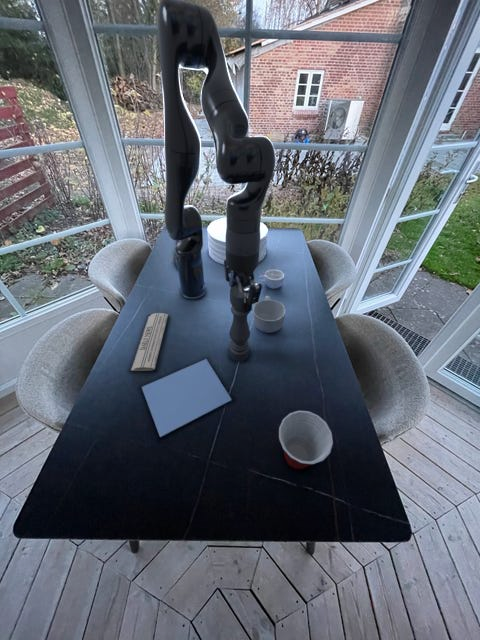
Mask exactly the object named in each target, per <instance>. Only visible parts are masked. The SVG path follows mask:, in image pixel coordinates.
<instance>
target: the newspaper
mask: <svg viewBox="0 0 480 640" xmlns="http://www.w3.org/2000/svg"><path fill="white" fill-rule="evenodd" d="M168 319H169V314H168V313H164V312H154V313H151V314H150V315H149V316H148V318H147V320H146V324H145V326H144V329H143V332H142V336H141V339H140V341H139V345H138V348H137V350H136V354H135V357H134V360H133V363H132V366H131V369H130V371H131V372H132V371H135V372H136V371H137V372H151V371H152V372H153V371H155V370H156V366H157V362H158V358H159V354H160V350H161V346H162V343H163V339H164V334H165V330H166V327H167V322H168Z"/></svg>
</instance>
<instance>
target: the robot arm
mask: <svg viewBox="0 0 480 640" xmlns="http://www.w3.org/2000/svg"><path fill="white" fill-rule="evenodd" d="M157 8H158V9H157V18H156V19H157V21H156V22H157V25H156V26H157V41H158V54H159V66H160V77H161V89H162V100H163V140H164V141H163V144H164V145H163V147H164V149H163V150H164V164H165V165H164V167H165V200H164V201H165V202H164V216H163V217H164V226H165V230H166V233H167V235H168V236H169V238H170V239H171V240H173V241H176V245H175V246H174V253H173V262H174V266H175V267H176V269H177V272H178V279H179V284H180V293H181V297H183V298H185V299H187V300H198V299H201V298H202V297H203V296H205V294H206V287H205V286H206V282H205V274H204V262H203V253H202V251H203V247H204V230H203V229H204V228H203V219H202V216H201V214H200V211H199V209H197V207H195V206H194V205H190V204H188V205H186V200H187V197H188V195H189V193H190V191H191V189H192V187H193V185H194V184H195V181H196V179H197V176H198V174H199V171H200V168H201V155H202V154H201V153H202V141H201V140H202V139H201V135H200V133H199V130H198V127H197V126H196V123H195V121H194V119H193V117H192V115H191V113H190V111H189V109H188V107H187V104H186V102H185V99H184V96H183V92H182V87H181V81H180V69H186V70H193V71H203V72H204V73H205V74H206V76H205V78H204V81H203V83H202V87H201V91H200V106H201V111H202V114H203V116H204V119H205V121H206V123H207V126H208V128H209V131H210V133H211V135H212V140H213V146H214V154H215V155H214V157H215V158H214V159H215V167H216V168H215V169H216V172H217V174H218V175H217V176H218V177H219V178H220V179H221V180H222V181H223V182H224V183H225V184H226V185H231V186H233V185H242V184H245V186H244V188H243V189H242V190H240V191H239V192H236V193H234V194H232V195H230V196H229V197H228V198H227V199H226V204H225V205H226V206H225V211H226V212H225V215H226V216H225V217H226V225H227V226H226V260H224V265H223V267H224V276H225V281H226V282H227V283H228V286H229V287H230V289H231V288H232V287H233V286H235V285H239V290H240V293H241V294H242V296H243V312H244V313H247V312H251V311H253V305H255V304H256V303H258V302H259V301H260V297H261V292H262V288H263V284H262V283H261V282H258V283H257V282H256V280H255V274H254V273H255V271H256V269H257V267H259V263H260V262H259V250H260V222H262V208H263V205H264V203H265V199H266V196H267V192H268V190H269V187H270V184H271V181H272V179H273V176H274V173H275V168H276V150H275V146H274V144H273V142H272V141H271V140H270V138H268V137H267V136H265V135H250V136H247V135H248V133H249V129H250V121H249V117H248V115H247V112H246V110H245V108H244V105H243V103H242V102H241V99H240V98H239V95H238V93H237V91H236V88H235V87H234V84H233V82H232V78H231V74H230V72H229V67H228V63H227V58H226V55H225V52H224V48H223V44H222V40H221V36H220V32H219V29H218V26H217V23H216V20H215V18H214V16H213V13H212V12H211V11H210V10H209V9H208V8H207V7H205V6H203V5H201V4H197V3H193V2H189V1H185V0H160V2H159V4H158V7H157ZM248 286H249V288H247V289H243V288H245V287H248ZM247 293H249V295H248V297H247V296H246V294H247Z"/></svg>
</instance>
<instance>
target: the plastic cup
mask: <svg viewBox="0 0 480 640" xmlns="http://www.w3.org/2000/svg"><path fill="white" fill-rule="evenodd" d="M278 439H279V442H280V444H281V447H282V449H283V453H284V454H283V455H284V459H285V460H286V463H287V464H288V465H289V466H290V467H292V469H293V468H294V469H296V470H302V469H305V468H307V467H309V466H311V465H315V464H317V463H320V462H323V461H324V460H325V459H326V458H328V456H329V455H330V454H331V451H332V448H333V445H334V441H333V433H332V430H331V429H330V426H329V425H328V422H326V421H325V420H324V419H323V418H322V417H321V416H319V415H318V414H316V413H314V412H311V411H308V410H296V411H293V412H290V413H288V415H286V416H285V417H284V418H283V419H282V420H281V423H280V424H279V427H278Z"/></svg>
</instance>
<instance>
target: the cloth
mask: <svg viewBox="0 0 480 640" xmlns="http://www.w3.org/2000/svg"><path fill="white" fill-rule="evenodd" d="M141 390H142V393H143V396H144V398H145V400H146V403H147V406H148V410H149V411H150V415H151V417H152V419H153V422H154V425H155V428H156V430H157V433H158V436H159V438H162V437H164V436H166V435H168V434H170V433H172V432H174V431H176V430H178V429H180V428H182V427H184V426H186V425H187V424H189V423H192V422H194V421H195V420H197V419H199V418H201V417H204V416H205V415H207V414H209V413H211V412H212V411H214V410H216V409H219V408H220V407H222V406H224V405H226V404H227V403H230V402H232V400H233V398H231V396H230V394H229V392H228V391H227V389H226V388H225V386H224V385H223V384H222V381H221V380H220V379H219V377H218V375H217V374H216V371H214V368H213V367H212V365H211V364H210V363H209V360H208V359H207V358H205V359H203V360H200V361H199V362H196V363H193V364H191V365H189V366H187V367H184V368H182V369H180V370H178V371H175V372H173V373H170V374H169V375H166V376H164V377H162V378H159V379H157V380H155V381H152V382H150V383H148V384H146V385H143V386H141Z"/></svg>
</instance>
